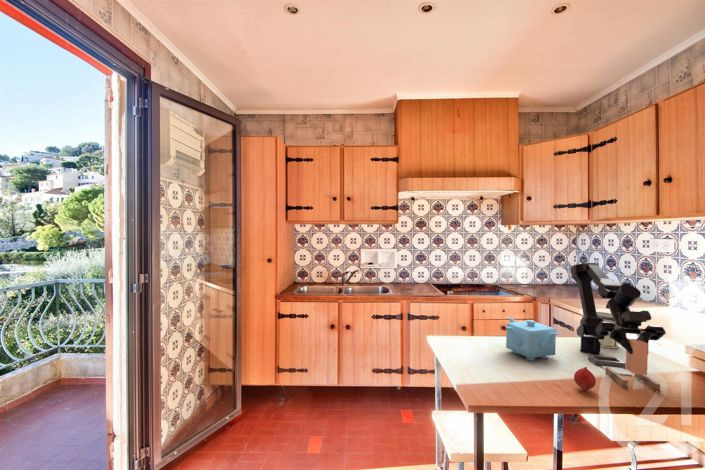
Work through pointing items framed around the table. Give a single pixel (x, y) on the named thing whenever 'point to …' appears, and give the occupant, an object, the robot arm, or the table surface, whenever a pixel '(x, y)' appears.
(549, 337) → the blue lidded box
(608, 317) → the coffee can
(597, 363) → the tray
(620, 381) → the channel
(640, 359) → the block
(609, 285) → the robot arm
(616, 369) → the pad
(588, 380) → the onion
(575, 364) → the table surface
